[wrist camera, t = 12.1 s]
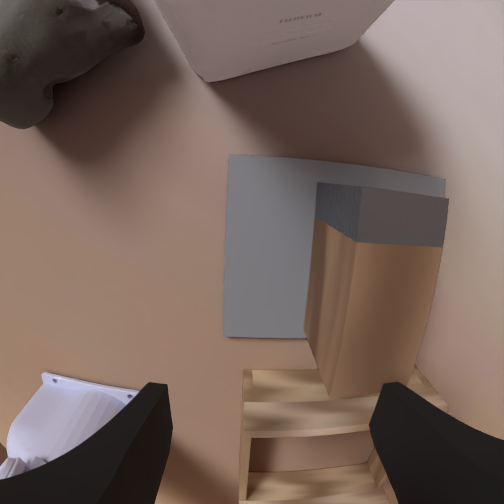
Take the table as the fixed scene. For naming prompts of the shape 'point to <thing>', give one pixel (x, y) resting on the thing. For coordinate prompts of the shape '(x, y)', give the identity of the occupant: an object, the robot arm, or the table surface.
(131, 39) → the rock
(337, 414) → the wooden cubby shelf
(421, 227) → the brown and grey block
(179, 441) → the table surface
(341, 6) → the photo printer
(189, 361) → the table surface
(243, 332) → the slate mat
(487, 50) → the table surface
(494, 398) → the table surface
